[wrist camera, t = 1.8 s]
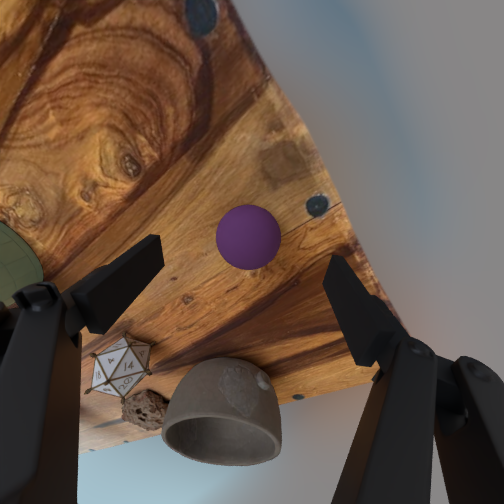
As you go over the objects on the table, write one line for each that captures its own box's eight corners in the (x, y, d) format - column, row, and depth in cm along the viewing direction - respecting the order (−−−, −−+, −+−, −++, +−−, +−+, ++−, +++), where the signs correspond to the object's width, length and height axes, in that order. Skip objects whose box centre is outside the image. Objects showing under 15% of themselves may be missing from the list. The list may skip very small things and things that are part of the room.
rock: (148, 385, 39) (138, 407, 36) (193, 411, 44) (187, 432, 41) (110, 401, 44) (97, 422, 41) (153, 423, 49) (145, 443, 46)
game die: (148, 315, 34) (120, 334, 24) (173, 355, 34) (156, 389, 24) (98, 346, 32) (47, 380, 22) (125, 387, 32) (86, 439, 23)
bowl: (262, 334, 29) (260, 415, 20) (288, 392, 37) (295, 469, 28) (166, 349, 32) (129, 423, 24) (209, 399, 40) (193, 468, 32)
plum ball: (223, 194, 19) (207, 213, 13) (283, 201, 19) (290, 222, 13) (222, 247, 22) (209, 279, 16) (274, 253, 22) (277, 287, 16)
